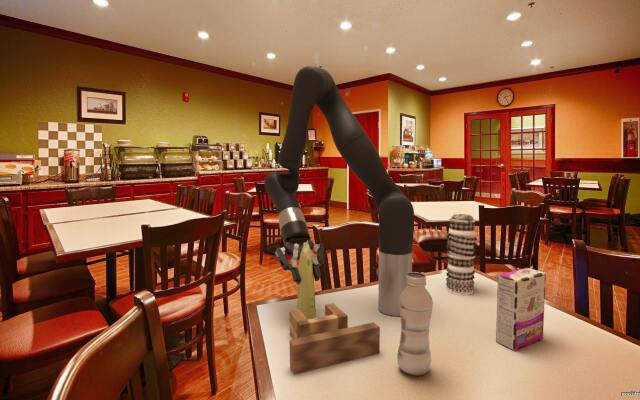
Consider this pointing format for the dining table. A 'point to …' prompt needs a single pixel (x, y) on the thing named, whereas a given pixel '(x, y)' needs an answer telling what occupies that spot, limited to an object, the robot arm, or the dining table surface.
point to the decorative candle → (461, 254)
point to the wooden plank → (334, 347)
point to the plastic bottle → (415, 325)
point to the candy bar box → (520, 308)
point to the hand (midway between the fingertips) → (308, 280)
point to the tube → (306, 284)
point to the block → (317, 322)
